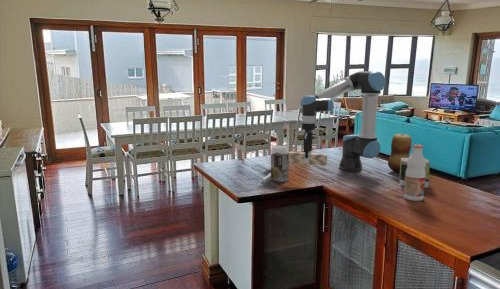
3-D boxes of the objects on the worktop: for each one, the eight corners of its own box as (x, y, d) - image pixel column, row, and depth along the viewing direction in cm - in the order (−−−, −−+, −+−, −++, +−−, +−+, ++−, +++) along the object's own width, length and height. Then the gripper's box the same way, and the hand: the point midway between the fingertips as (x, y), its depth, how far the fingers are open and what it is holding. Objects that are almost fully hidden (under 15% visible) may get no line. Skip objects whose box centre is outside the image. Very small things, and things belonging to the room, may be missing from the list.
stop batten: (276, 174, 242) (276, 171, 241) (265, 183, 224) (265, 179, 223) (273, 174, 242) (273, 171, 242) (262, 182, 224) (262, 179, 224)
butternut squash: (403, 175, 239) (406, 136, 234) (383, 171, 249) (386, 134, 244) (413, 171, 248) (416, 134, 243) (394, 168, 258) (396, 131, 253)
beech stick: (326, 164, 219) (327, 154, 218) (325, 165, 216) (326, 155, 215) (290, 161, 227) (290, 151, 226) (288, 162, 225) (288, 152, 224)
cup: (285, 170, 251) (286, 148, 249) (270, 170, 253) (270, 148, 251) (287, 166, 262) (287, 145, 259) (272, 166, 264) (272, 145, 261)
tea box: (426, 183, 223) (428, 158, 220) (428, 188, 213) (430, 162, 210) (398, 181, 227) (400, 157, 225) (399, 185, 218) (401, 160, 215)
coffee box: (288, 180, 230) (289, 154, 227) (282, 182, 225) (282, 155, 222) (277, 177, 236) (277, 152, 233) (270, 179, 231) (270, 153, 228)
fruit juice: (401, 194, 202) (405, 143, 197) (420, 195, 201) (424, 143, 195) (406, 200, 193) (410, 146, 188) (425, 201, 191) (430, 147, 186)
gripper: (305, 120, 226) (304, 159, 231) (298, 124, 211) (297, 165, 216) (318, 121, 223) (316, 160, 228) (311, 124, 209) (310, 166, 213)
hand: (307, 162), depth 222 cm, fingers closed on beech stick, 3 cm apart
